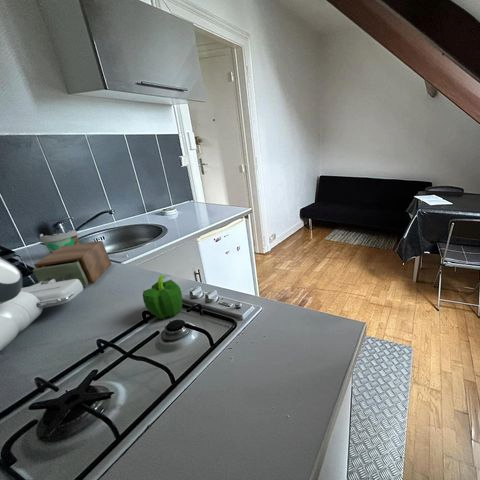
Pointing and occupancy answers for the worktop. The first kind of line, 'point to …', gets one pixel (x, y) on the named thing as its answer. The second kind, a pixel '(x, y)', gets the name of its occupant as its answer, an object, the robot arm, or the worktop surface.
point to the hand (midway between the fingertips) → (49, 282)
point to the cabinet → (81, 258)
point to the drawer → (62, 272)
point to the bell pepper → (163, 298)
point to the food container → (59, 240)
